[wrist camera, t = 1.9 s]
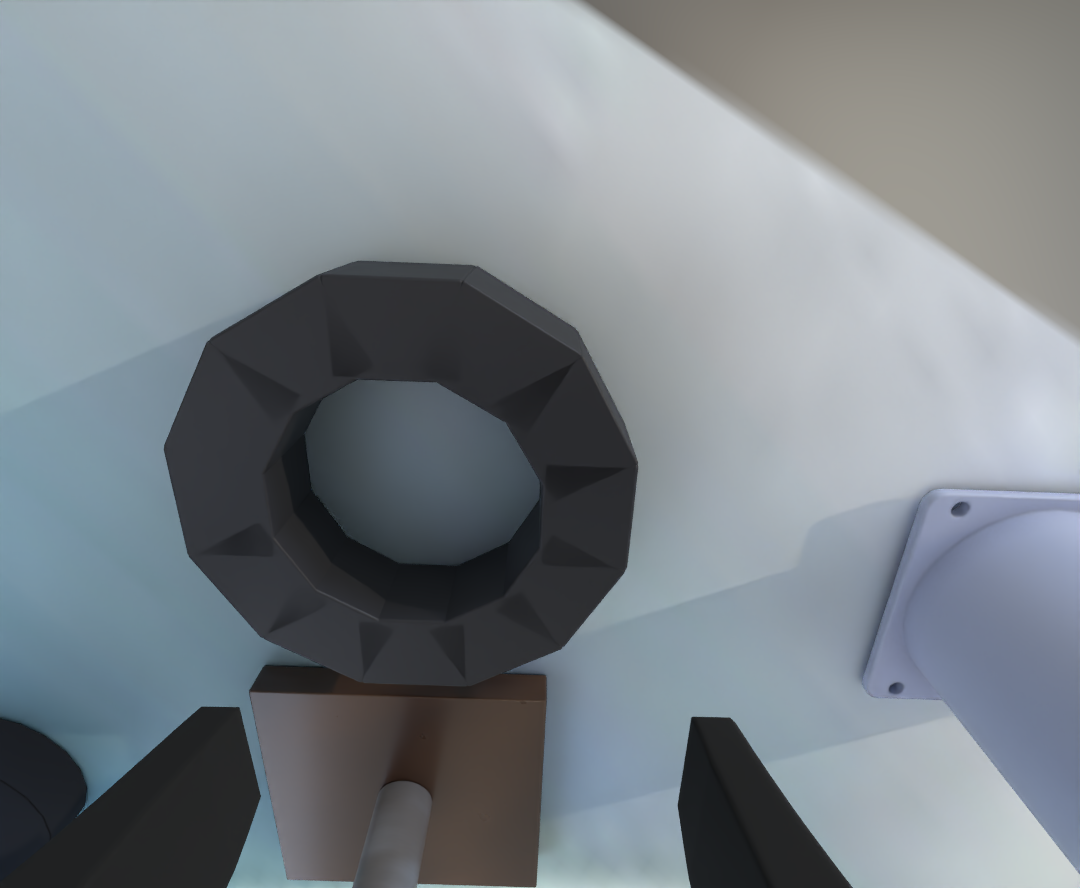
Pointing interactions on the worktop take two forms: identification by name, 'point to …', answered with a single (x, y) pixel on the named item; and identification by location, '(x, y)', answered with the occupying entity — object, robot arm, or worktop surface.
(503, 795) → the stand
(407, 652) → the ring
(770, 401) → the worktop surface
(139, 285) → the worktop surface
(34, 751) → the black thermos flask
